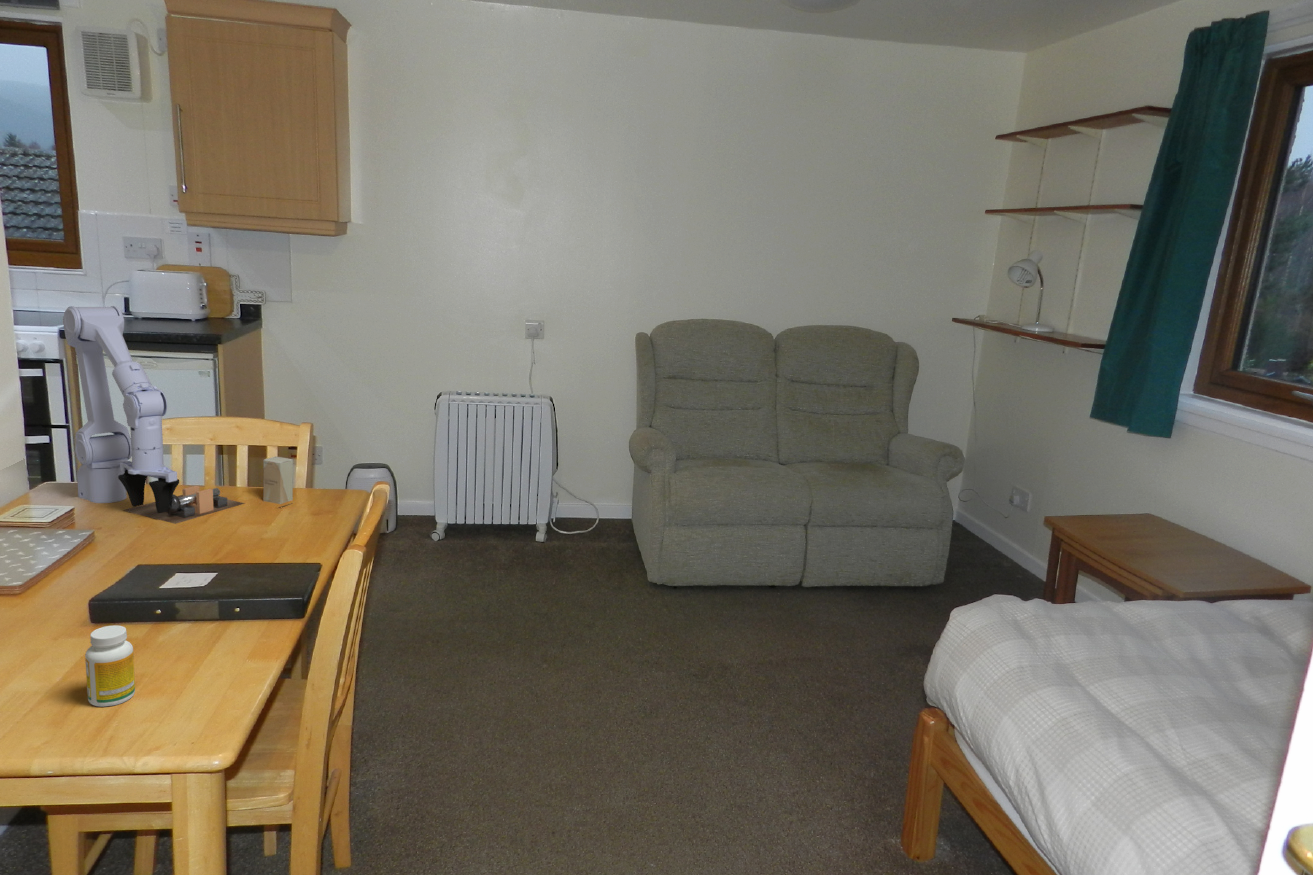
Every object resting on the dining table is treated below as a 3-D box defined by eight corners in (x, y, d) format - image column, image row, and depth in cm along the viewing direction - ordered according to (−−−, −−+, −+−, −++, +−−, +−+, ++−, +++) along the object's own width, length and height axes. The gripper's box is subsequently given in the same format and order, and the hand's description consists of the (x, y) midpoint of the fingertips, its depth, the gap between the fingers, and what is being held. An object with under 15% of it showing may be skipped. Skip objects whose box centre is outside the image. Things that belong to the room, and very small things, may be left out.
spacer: (183, 509, 186) (182, 488, 185) (197, 505, 189) (196, 485, 188) (199, 513, 184) (199, 492, 183) (213, 509, 187) (212, 489, 186)
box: (262, 504, 196) (261, 459, 194) (275, 500, 200) (275, 455, 198) (281, 508, 195) (280, 462, 192) (294, 503, 199) (293, 458, 196)
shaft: (162, 511, 180) (161, 494, 179) (210, 498, 191) (210, 481, 191) (176, 515, 179) (175, 497, 178) (223, 501, 190) (223, 484, 189)
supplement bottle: (78, 702, 111) (73, 635, 109) (114, 684, 116) (110, 619, 114) (109, 711, 109) (105, 643, 107) (145, 692, 114) (141, 627, 112)
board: (122, 514, 182) (122, 510, 182) (194, 495, 199) (194, 491, 199) (175, 527, 177) (175, 523, 177) (245, 507, 193) (244, 503, 193)
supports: (168, 513, 182) (167, 505, 182) (211, 502, 192) (210, 494, 192) (184, 518, 180) (184, 509, 180) (227, 505, 190) (227, 497, 190)
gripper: (104, 445, 175) (108, 507, 178) (154, 455, 170) (157, 519, 173) (136, 439, 182) (139, 499, 184) (185, 449, 176) (187, 511, 179)
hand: (150, 508), depth 179 cm, fingers open, 7 cm apart
